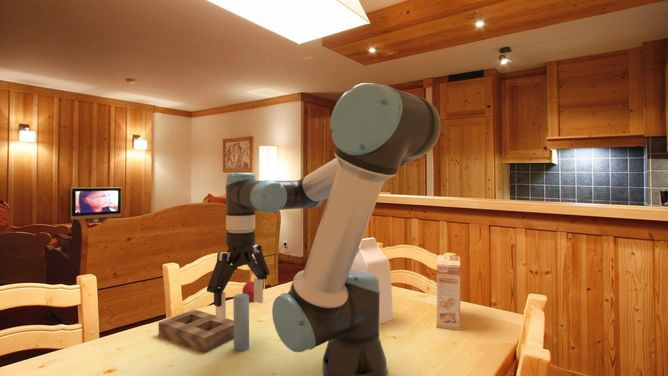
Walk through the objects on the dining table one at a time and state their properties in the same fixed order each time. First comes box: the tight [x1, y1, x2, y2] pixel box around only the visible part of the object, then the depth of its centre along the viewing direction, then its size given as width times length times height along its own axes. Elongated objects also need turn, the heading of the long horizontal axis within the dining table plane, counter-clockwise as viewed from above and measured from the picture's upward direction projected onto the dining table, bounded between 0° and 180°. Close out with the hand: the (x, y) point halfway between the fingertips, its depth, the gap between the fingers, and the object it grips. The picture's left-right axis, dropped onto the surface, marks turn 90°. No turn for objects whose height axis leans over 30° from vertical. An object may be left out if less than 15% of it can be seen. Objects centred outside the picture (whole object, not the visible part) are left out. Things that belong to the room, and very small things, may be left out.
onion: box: [241, 279, 254, 302], centre depth 133 cm, size 6×6×8 cm
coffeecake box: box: [436, 254, 462, 331], centre depth 114 cm, size 15×7×20 cm, turn 161°
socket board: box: [158, 308, 234, 354], centre depth 103 cm, size 20×12×4 cm, turn 59°
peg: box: [232, 293, 250, 352], centre depth 95 cm, size 4×4×14 cm
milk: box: [351, 237, 394, 325], centre depth 115 cm, size 12×12×26 cm
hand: (240, 309), depth 95 cm, fingers open, 13 cm apart
